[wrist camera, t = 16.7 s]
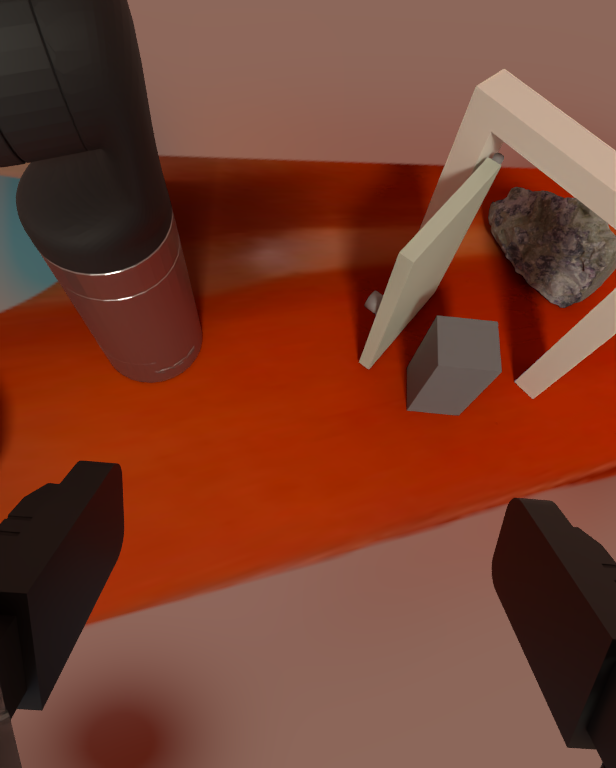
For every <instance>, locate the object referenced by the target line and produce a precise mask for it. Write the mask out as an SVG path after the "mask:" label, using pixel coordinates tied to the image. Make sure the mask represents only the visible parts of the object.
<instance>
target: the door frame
mask: <svg viewBox="0 0 616 768" xmlns="http://www.w3.org/2000/svg"><path fill="white" fill-rule="evenodd" d="M503 142H505V143H507V144H508V145H509V146H510V147H512V148H513V149H514V150H515V151H517V152H518V153H519V154H521V155H522V156H523V157H524V158H526V159H527V160H528V161H529V162H531V163H532V164H533V165H534V166H536V167H537V168H538V169H540V170H541V171H542V172H543V173H545V174H546V175H547V176H548V177H550V178H551V179H552V180H554V181H555V182H556V183H557V184H559V185H560V186H561V187H562V188H564V189H565V190H566V191H568V192H569V193H570V194H571V195H573V196H574V197H575V198H576V199H578V200H579V201H580V202H582V203H583V204H584V205H585V206H587V207H588V208H589V209H590V210H592V211H593V212H594V213H596V214H597V215H598V216H599V217H601V218H602V219H603V220H604V221H606V222H607V223H608V224H610V225H611V226H612V227H613V228H615V229H616V151H615V150H614V149H613V148H611V147H610V146H609V145H607V144H606V143H604V142H603V141H602V140H600V139H599V138H598V137H596V136H595V135H593V134H592V133H591V132H589V131H588V130H587V129H585V128H584V127H583V126H581V125H580V124H579V123H577V122H576V121H575V120H573V119H572V118H570V117H569V116H568V115H566V114H565V113H563V112H562V111H561V110H560V109H558V108H557V107H555V106H554V105H553V104H552V103H550V102H549V101H547V100H546V99H545V98H543V97H542V96H541V95H539V94H538V93H537V92H535V91H534V90H533V89H531V88H530V87H528V86H527V85H526V84H524V83H523V82H522V81H520V80H519V79H518V78H516V77H515V76H514V75H512V74H511V73H509V72H508V71H507V70H505V69H503V70H501V71H500V72H498V73H496V74H495V75H493V76H492V77H490V78H488V79H487V80H485V81H484V82H482V83H481V84H479V85H477V86H476V88H475V90H474V93H473V95H472V98H471V101H470V103H469V106H468V108H467V111H466V113H465V116H464V118H463V121H462V123H461V126H460V128H459V131H458V133H457V136H456V138H455V141H454V143H453V146H452V149H451V151H450V153H449V156H448V159H447V161H446V163H445V166H444V169H443V171H442V174H441V176H440V179H439V181H438V184H437V186H436V189H435V191H434V194H433V196H432V199H431V201H430V204H429V206H428V209H427V211H426V214H425V216H424V219H423V221H422V224H421V226H420V229H419V231H420V230H421V229H422V228H423V227H424V225H425V224H426V223H427V222H428V221H429V220H430V219H431V218H432V217H433V216H434V215H435V214H436V213H437V211H438V210H439V209H440V208H441V207H442V206H443V205H444V204H445V203H446V202H447V201H448V200H449V199H450V198H451V196H452V195H453V194H454V193H455V192H456V191H457V190H458V189H459V188H460V187H461V186H462V185H463V184H464V182H465V181H466V180H467V179H468V178H469V177H470V176H471V175H472V174H473V173H474V172H475V171H476V170H477V168H478V167H479V166H480V165H481V164H482V163H483V162H484V161H485V160H486V159H487V158H488V157H489V158H490V159H492V158H493V156H494V154H495V153H498V152H499V150H500V148H501V146H502V144H503ZM615 334H616V288H615V289H614V290H613V291H612V292H611V293H610V294H609V295H608V296H607V297H606V298H605V299H604V300H602V301H601V302H600V303H599V304H598V305H597V306H596V307H595V308H594V309H593V310H592V311H591V312H589V313H588V314H587V315H586V316H585V317H584V318H583V319H582V320H581V321H580V322H579V323H578V324H576V325H575V326H574V327H573V328H572V329H571V330H570V331H569V332H568V333H567V334H566V335H565V336H563V337H562V338H561V339H560V340H559V341H558V342H557V343H556V344H555V345H554V346H553V347H552V348H550V349H549V350H548V351H547V352H546V353H545V354H544V355H543V356H542V357H541V358H540V359H538V360H537V361H536V362H535V363H534V364H533V365H532V366H531V367H530V368H529V369H528V370H527V371H525V372H524V373H523V374H522V375H521V376H520V377H519V378H518V379H517V380H516V381H515V383H516V384H517V385H518V386H519V387H521V388H522V389H523V390H524V391H525V392H526V393H527V394H528V395H529V396H530V397H531V398H532V399H534V398H535V397H536V396H538V395H539V394H540V393H541V392H543V391H544V390H545V389H546V388H548V387H549V386H550V385H551V384H553V383H554V382H555V381H557V380H558V379H559V378H560V377H562V376H563V375H564V374H565V373H567V372H568V371H569V370H570V369H572V368H573V367H574V366H576V365H577V364H578V363H579V362H581V361H582V360H583V359H584V358H586V357H587V356H588V355H589V354H591V353H592V352H593V351H594V350H596V349H597V348H598V347H600V346H601V345H602V344H603V343H605V342H606V341H607V340H608V339H610V338H611V337H612V336H613V335H615Z"/></svg>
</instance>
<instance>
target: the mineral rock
mask: <svg viewBox="0 0 616 768" xmlns="http://www.w3.org/2000/svg"><path fill="white" fill-rule="evenodd" d="M488 219H489V224H490V225H491V233H492V234H493V236H494V238H495V239H496V241H497V242H498V244H499V245H500V247H501V249H502V251H503V252H504V253H505V256H506V257H507V259H508V260H510V262H511V263H512V264H513V266H514V267H515V272H517V273H519V274H521V275H522V276H523V277H524V278H525V280H526V282H527V283H528V284H529V285H530V286H531V287H533V288H535V289H536V290H538V291H539V292H540V293H541V294H542V295H543V296H544V297H545V298H546V299H547V300H549V301H550V302H551V303H553V304H556V305H559V307H563V308H565V307H567V306H570V305H572V304H573V303H577V302H580V301H583V300H584V299H585V298H587V297H588V296H590V295H591V294H592V293H593V292H594V291H595V290H596V289H597V288H599V287H600V286H601V285H602V284H603V282H604V281H605V280H606V279H607V278H608V277H609V276H610V275H611V274H612V272H613V271H614V270H615V269H616V236H615V235H614V234H613V233H612V232H611V230H610V229H609V226H608V223H607V222H606V221H604V220H603V219H602V218H601V217H599V216H598V215H597V214H596V213H594V212H593V211H592V210H590V209H589V208H588V207H587V206H585V205H584V204H583V203H582V202H580V201H579V200H578V199H576V198H563V197H560V196H557V195H555V194H554V193H551V192H548V191H534V192H532V191H530V190H526V189H524V188H520V187H515V188H512V189H511V190H510V192H509V194H508V196H507V197H506V198H505V199H503V200H498V201H496V202H492V204H491V206H490V209H489V216H488Z"/></svg>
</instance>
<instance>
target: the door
mask: <svg viewBox="0 0 616 768" xmlns="http://www.w3.org/2000/svg"><path fill="white" fill-rule="evenodd" d="M503 159H504V156H503V155H502V154H500V153H495V154H494V156H493V158H492V159H490V158H489V157H488V158H487V159H486V160H485V161H484V162H483V163H482V164H481V165H480V166H479V167H478V168H477V170H476V171H475V172H474V173H473V174H472V175H471V176H470V177H469V178H468V179H467V180H466V181H465V182H464V184H463V185H462V186H461V187H460V188H459V189H458V190H457V191H456V192H455V193H454V194H453V195H452V196H451V198H450V199H449V200H448V201H447V202H446V203H445V204H444V205H443V206H442V207H441V208H440V209H439V210H438V211H437V213H436V214H435V215H434V216H433V217H432V218H431V219H430V220H429V221H428V222H427V223H426V224H425V225H424V227H423V228H422V229H421V230H420V231H419V232H418V233H417V234H416V235H415V236H414V237H413V238H412V239H411V241H410V242H409V243H408V244H407V245H406V246H405V247H404V248H403V249H402V250H401V251H400V252H399V254H398V257H397V260H396V263H395V265H394V268H393V271H392V273H391V276H390V279H389V282H388V284H387V287H386V290H385V293H384V295H381V294H380V293H379V292H377V291H374V292H373V293H372V294H371V295H370V296H369V298H368V299H367V301H366V303H365V305H364V306H365V307H366V308H367V309H369V310H370V311H372V312H373V313H374V314H376V317H375V320H374V323H373V325H372V328H371V331H370V334H369V336H368V339H367V342H366V344H365V347H364V350H363V353H362V355H361V358H360V361H359V363H361V364H362V365H363V366H365V367H366V368H367V369H370V368H371V367H372V365H373V364H374V363H375V362H376V361H377V360H378V358H379V357H380V356H381V355H382V354H383V352H384V351H385V350H386V349H387V348H388V347H389V345H390V344H391V343H392V342H393V341H394V340H395V338H396V337H397V336H398V335H399V334H400V333H401V331H402V330H403V329H404V328H405V327H406V326H407V324H408V323H409V322H410V321H411V320H412V319H413V317H414V316H415V315H416V314H417V313H418V311H419V310H420V309H421V308H422V307H423V306H424V304H425V303H426V302H427V301H428V300H429V299H430V297H431V296H432V295H433V294H434V293H435V291H436V289H437V287H438V285H439V284H440V282H441V280H442V278H443V276H444V274H445V272H446V270H447V268H448V266H449V265H450V263H451V261H452V259H453V257H454V255H455V253H456V251H457V249H458V247H459V245H460V244H461V242H462V240H463V238H464V236H465V234H466V232H467V230H468V228H469V226H470V225H471V223H472V221H473V219H474V217H475V215H476V213H477V211H478V209H479V207H480V206H481V204H482V202H483V200H484V198H485V196H486V194H487V192H488V190H489V188H490V186H491V185H492V183H493V181H494V179H495V177H496V175H497V173H498V171H499V169H500V167H501V163H502V161H503Z"/></svg>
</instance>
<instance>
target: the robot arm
mask: <svg viewBox="0 0 616 768" xmlns="http://www.w3.org/2000/svg"><path fill="white" fill-rule="evenodd" d="M26 162H27V163H30V162H31V163H30V164H29V166H28V167H27V168H26V170H25V172H24V173H23V175H22V177H21V179H20V182H19V184H18V188H17V193H16V205H17V211H18V215H19V219H20V221H21V223H22V225H23V227H24V229H25V231H26V233H27V234H28V236H29V237H30V239H31V240H32V242H33V244H34V245H35V246H36V248H37V249H38V251H39V252H40V254H41V255H42V257H43V258H44V260H45V261H46V263H47V265H48V266H49V268H50V269H51V271H52V272H53V274H54V275H55V277H56V279H57V280H58V281H59V283H60V284H61V286H62V287H63V289H64V291H65V292H66V294H67V295H68V297H69V298H70V300H71V302H72V303H73V305H74V306H75V308H76V309H77V311H78V312H79V314H80V316H81V317H82V319H83V320H84V322H85V323H86V325H87V326H88V328H89V330H90V331H91V333H92V334H93V336H94V337H95V339H96V341H97V342H98V344H99V345H100V347H101V349H102V350H103V352H104V353H105V355H106V356H107V358H108V359H109V361H110V362H111V364H112V365H113V366H114V368H115V369H116V370H117V371H119V372H120V373H121V374H122V375H124V376H126V377H128V378H130V379H132V380H136V381H140V382H159V381H164V380H167V379H170V378H173V377H175V376H177V375H179V374H180V373H182V372H183V371H185V370H186V369H187V368H188V367H189V366H190V365H191V364H192V363H193V361H194V360H195V359H196V357H197V355H198V353H199V351H200V348H201V344H202V330H201V326H200V322H199V317H198V313H197V308H196V304H195V300H194V296H193V292H192V287H191V283H190V279H189V275H188V271H187V267H186V263H185V259H184V254H183V250H182V246H181V242H180V238H179V234H178V230H177V226H176V222H175V218H174V214H173V210H172V206H171V202H170V198H169V195H168V191H167V187H166V184H165V180H164V177H163V173H162V169H161V165H160V161H159V156H158V152H157V148H156V143H155V138H154V133H153V127H152V122H151V117H150V111H149V105H148V98H147V92H146V86H145V81H144V74H143V68H142V63H141V58H140V53H139V48H138V43H137V39H136V33H135V29H134V24H133V20H132V16H131V13H130V9H129V6H128V2H127V0H0V167H8V166H14V165H20V164H25V163H26ZM123 537H124V510H123V485H122V470H121V467H120V465H119V464H116V463H104V462H92V461H79V462H77V464H76V465H75V466H74V467H73V468H72V470H71V471H70V472H69V473H68V474H67V476H66V477H65V478H64V479H63V481H62V482H61V483H60V484H53V483H48V484H46V485H44V486H43V487H41V488H39V489H37V490H36V491H34V492H32V493H31V494H29V495H27V496H26V497H24V498H23V499H22V500H21V501H20V502H19V504H18V505H17V506H16V507H15V508H14V509H13V510H12V511H11V513H10V514H9V515H8V518H7V519H4V520H3V522H2V523H1V524H0V768H22V767H21V762H20V758H19V754H18V750H17V745H16V741H15V737H14V733H13V728H12V725H11V718H12V716H13V715H14V713H15V711H16V709H28V710H43V708H44V705H45V704H46V702H47V700H48V698H49V696H50V694H51V691H52V690H53V688H54V685H55V684H56V682H57V680H58V678H59V676H60V674H61V672H62V670H63V668H64V666H65V664H66V662H67V660H68V658H69V656H70V654H71V652H72V650H73V648H74V646H75V644H76V642H77V639H78V638H79V635H80V634H81V632H82V630H83V628H84V626H85V624H86V622H87V620H88V618H89V616H90V614H91V612H92V610H93V608H94V606H95V604H96V602H97V600H98V598H99V596H100V594H101V592H102V590H103V588H104V586H105V584H106V582H107V580H108V578H109V576H110V574H111V572H112V570H113V568H114V566H115V564H116V562H117V559H118V557H119V554H120V551H121V547H122V543H123ZM492 579H493V584H494V587H495V590H496V592H497V595H498V597H499V599H500V601H501V603H502V606H503V608H504V610H505V612H506V614H507V616H508V619H509V621H510V623H511V625H512V627H513V630H514V632H515V634H516V636H517V638H518V641H519V643H520V645H521V647H522V649H523V652H524V654H525V656H526V658H527V660H528V663H529V665H530V667H531V669H532V671H533V673H534V676H535V678H536V680H537V682H538V684H539V687H540V689H541V691H542V693H543V695H544V697H545V699H546V702H547V704H548V706H549V708H550V711H551V713H552V715H553V717H554V719H555V721H556V724H557V726H558V728H559V730H560V733H561V735H562V737H563V739H564V741H565V743H566V746H567V747H568V748H582V749H596V750H597V752H598V754H599V756H600V757H601V760H602V761H603V762H602V765H601V767H600V768H616V562H615V561H614V560H613V558H612V557H611V556H610V555H609V554H608V552H607V551H606V550H605V549H604V547H603V546H602V545H601V544H600V543H598V542H597V541H596V540H594V539H593V538H592V537H590V536H589V535H588V534H586V533H585V532H584V531H582V530H581V529H580V528H578V527H573V526H572V525H571V524H570V522H569V521H568V520H567V518H566V517H565V516H564V514H563V513H562V512H561V510H560V509H559V508H558V506H557V505H556V504H555V503H554V502H552V501H548V500H536V499H524V498H513V499H512V500H511V501H510V502H509V504H508V506H507V509H506V513H505V516H504V520H503V524H502V527H501V531H500V534H499V538H498V541H497V545H496V548H495V552H494V555H493V560H492Z"/></svg>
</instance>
